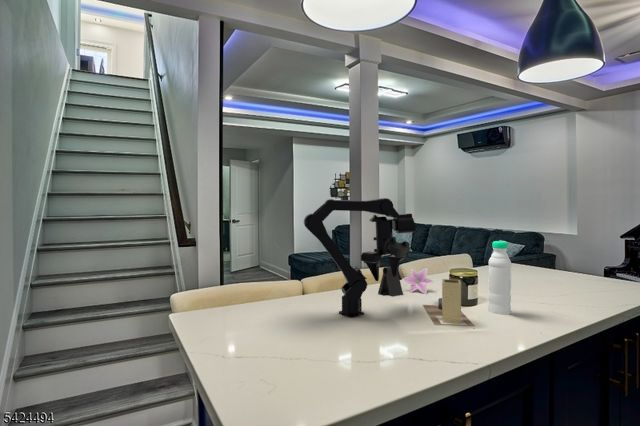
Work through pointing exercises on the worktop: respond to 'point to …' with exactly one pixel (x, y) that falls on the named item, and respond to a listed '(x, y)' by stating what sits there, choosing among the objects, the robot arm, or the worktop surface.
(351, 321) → the worktop surface
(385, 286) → the phone stand
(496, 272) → the water bottle
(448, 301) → the sleeve
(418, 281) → the lily
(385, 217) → the robot arm
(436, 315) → the shaft board
